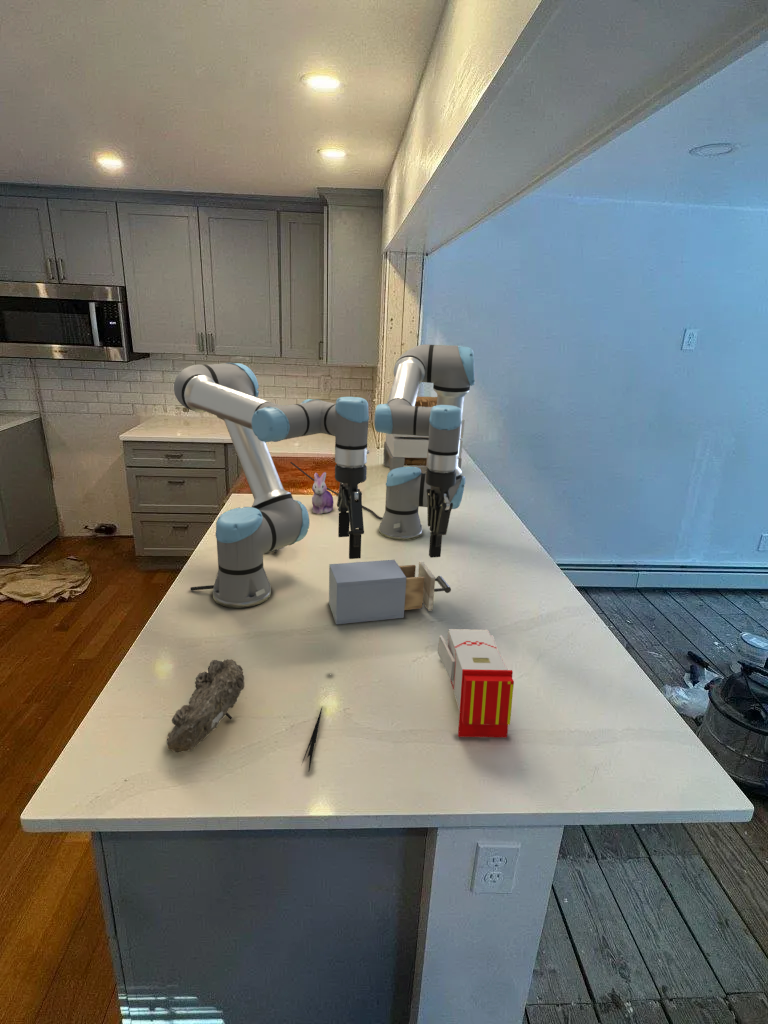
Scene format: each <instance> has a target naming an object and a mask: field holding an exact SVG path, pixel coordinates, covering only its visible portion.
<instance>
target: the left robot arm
mask: <svg viewBox="0 0 768 1024" xmlns="http://www.w3.org/2000/svg"><path fill="white" fill-rule="evenodd" d="M259 388H260V386H259V382H258V378H257V377H256V375H255V373H254V372H253V370H252V369H251V368H250V367H249V366H247V365H245V364H243V363H239V362H238V363H237V362H235V363H234V362H224V363H208V364H193V365H189V366H187V367H185V368H183V369H182V370H180V372H179V373H178V374H177V375H176V377H175V379H174V382H173V393H174V396H175V398H176V400H177V401H178V402H179V404H180V405H181V406H183V407H184V408H186V409H187V410H189V411H193V412H194V413H200V414H203V413H209V414H211V415H214V416H216V417H217V418H218V419H220V420H222V421H224V424H225V426H226V429H227V431H228V434H229V437H230V439H231V441H232V444H233V445H232V446H233V448H234V450H235V453H236V455H237V458H238V460H239V463H240V466H241V469H242V471H243V473H244V476H245V478H246V481H247V484H248V488H249V489H250V492H251V494H252V498H253V499H254V500H253V503H252V505H251V506H243V507H236V508H235V507H234V508H231V509H229V510H226V511H224V512H223V513H221V514H220V515H219V516H218V518H217V520H216V523H215V539H216V551H217V566H218V567H217V568H218V569H217V570H218V571H217V575H216V578H215V581H214V584H211V585H199V586H191V587H190V591H191V592H192V591H202V590H212V598H213V601H214V602H215V603H216V604H218V605H220V606H222V607H226V608H231V609H244V608H245V609H246V608H251V607H254V606H257V605H260V604H262V603H264V602H266V601H267V600H268V599H270V597H271V595H272V586H271V582H270V580H269V577H268V575H267V572H266V570H265V568H264V555H265V554H267V553H270V552H274V551H275V550H276V549H277V550H279V549H282V548H285V547H287V546H288V547H289V546H292V545H294V544H296V543H297V542H300V541H302V540H303V539H305V537H306V536H307V534H308V532H309V528H310V516H309V515H310V514H309V511H308V509H307V507H306V506H305V504H304V503H302V502H301V501H300V500H297V499H294V497H293V494H292V492H291V491H288V490H285V488H284V486H283V483H282V482H281V481H282V480H281V479H280V476H279V474H278V471H277V468H276V466H275V463H274V460H273V457H272V455H271V452H270V449H269V447H268V444H267V443H271V442H273V443H278V442H281V441H285V440H290V439H296V438H300V437H307V436H312V435H317V434H323V435H327V436H332V437H334V441H335V443H334V462H335V463H336V464H335V465H334V479H335V481H336V482H338V483H339V487H338V495H337V502H336V506H337V510H338V529H337V530H338V534H337V536H338V538H348V541H349V542H348V559H349V560H353V559H354V560H357V559H361V558H362V557H361V556H362V535H365V528H364V514H363V513H364V512H363V508H362V506H363V501H362V500H363V499H362V498H363V492H362V490H361V489H360V488H359V484H362V483H364V482H365V481H366V480H367V474H368V473H367V471H368V467H367V463H368V456H367V455H369V454H370V450H369V449H368V436H369V435H368V434H369V420H370V415H369V402H368V401H367V399H365V398H364V397H359V396H340V397H338V398H336V400H335V402H329V401H325V400H321V399H317V398H315V399H312V398H307V399H304V400H303V401H301V403H293V404H285V405H282V404H278V403H275V402H272V401H269V400H266V399H263V398H260V397H259V394H260V393H259V392H260V391H259Z"/></svg>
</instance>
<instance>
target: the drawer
mask: <svg viewBox="0 0 768 1024" xmlns="http://www.w3.org/2000/svg"><path fill="white" fill-rule="evenodd" d="M398 566H399V567H400V569H401V570H402V572H403V573H404V575H405V576H406V591H405V607H404V611H408V610H418V609H419V610H420V609H422V608H423V605H424V606H425V608H426V610H427V611H429V612H431V611H433V610H434V600H435V596H434V595H435V593H437V592H444V593H446V594H449V593H451V591H452V588H451V586H450V585H449V584H448V582H447V581H446V580H445V579H444V578H443V577H442V575H437V576H435V575H434V573H433V572H432V571H431V570H430V568H429V567H428V566H427V564H426V563H425V562H424V561H419V562H418V573H417V576H416V564H407V565H398ZM436 582H437V583H438V584H439V586H440V587H441V588H440V587H439V588H435V587H436Z"/></svg>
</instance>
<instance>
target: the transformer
mask: <svg viewBox="0 0 768 1024" xmlns="http://www.w3.org/2000/svg"><path fill="white" fill-rule="evenodd" d="M436 405H437V396H418V395H417V397H416V402H415V406H420V407H433V406H436ZM464 429H465V419H464V418H462V426H461V437H460V448H459V459H458V467H459V468H460V469H461V470H462V461H463V460H462V453H463V442H464V441H463V440H462V439H463V438H464V431H465V430H464ZM428 442H429V436H416V435H402V434H388V433H385V438H384V442H383V466H384V467H388V468H389V472H390V471H391V470H393V469H396V468H400V467H405V466H406V467H417V466H418V467H427V466H426V463H427V451H428Z"/></svg>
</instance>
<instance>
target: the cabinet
mask: <svg viewBox="0 0 768 1024" xmlns="http://www.w3.org/2000/svg"><path fill="white" fill-rule="evenodd" d="M328 565H329V566H328V605H329V608H330V611H331V613H332V616H333V620H334V623H335V625H345V624H346V625H347V624H354V623H364V622H375V621H384V620H394V619H404V618H405V610H404V607H405V591H406V576H405V575H404V573H403V572H402V570H401V569H400V567H399V566H400V565H399V564H398V563H397V560H395V559H384V560H382V559H381V560H368V561H356V562H340V563H329V564H328Z"/></svg>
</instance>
